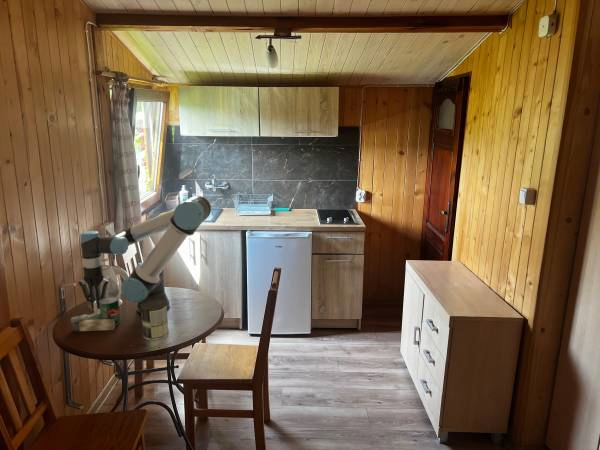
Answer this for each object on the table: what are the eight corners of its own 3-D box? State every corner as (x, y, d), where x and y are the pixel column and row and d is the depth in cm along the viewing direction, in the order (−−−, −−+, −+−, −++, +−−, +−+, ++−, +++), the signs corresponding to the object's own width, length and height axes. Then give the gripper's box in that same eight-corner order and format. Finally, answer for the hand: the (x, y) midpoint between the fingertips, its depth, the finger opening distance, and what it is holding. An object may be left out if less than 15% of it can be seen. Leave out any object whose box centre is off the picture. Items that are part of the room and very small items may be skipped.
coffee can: (139, 340, 178) (136, 308, 175) (148, 328, 189) (146, 298, 185) (164, 340, 178) (161, 308, 175) (172, 329, 188) (169, 298, 185)
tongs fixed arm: (72, 331, 186) (70, 323, 185) (75, 328, 189) (74, 319, 188) (113, 330, 187) (112, 321, 186) (115, 327, 190) (114, 318, 189)
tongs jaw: (75, 332, 185) (74, 321, 184) (70, 329, 187) (68, 318, 186) (112, 317, 199) (111, 306, 198) (107, 315, 201) (106, 305, 200)
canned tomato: (105, 319, 198) (102, 296, 195) (122, 318, 198) (120, 296, 196) (98, 327, 190) (96, 303, 188) (117, 326, 191) (114, 303, 188)
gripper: (110, 263, 197) (114, 311, 202) (80, 263, 196) (86, 312, 201) (104, 268, 189) (109, 318, 194) (73, 268, 188) (79, 319, 193)
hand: (97, 315), depth 198 cm, fingers closed
